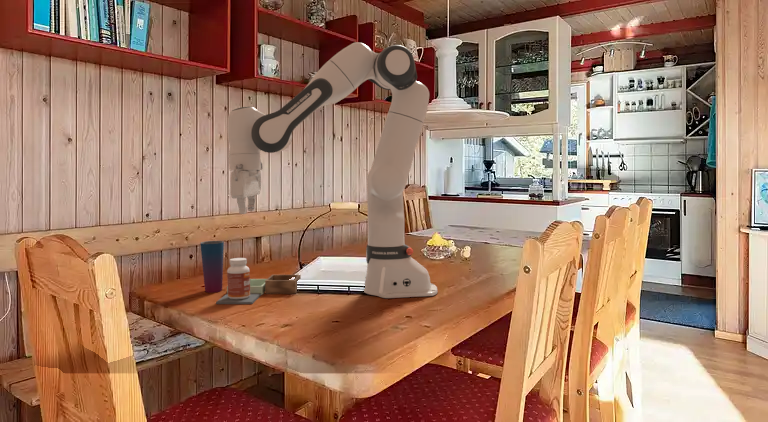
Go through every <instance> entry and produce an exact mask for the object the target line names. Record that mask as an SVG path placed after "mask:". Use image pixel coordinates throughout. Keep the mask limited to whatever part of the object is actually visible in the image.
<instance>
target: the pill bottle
mask: <svg viewBox="0 0 768 422" xmlns="http://www.w3.org/2000/svg"><path fill="white" fill-rule="evenodd" d="M247 263H248V262H247V258H246V257H235V258H230V259H229V265H230V266H229V267H228V268H227V271H226V274H227V275H226V276H227V286H228V297H229V298H230V299H234V300H237V299H245V298H248V297H250V279H251V278H250V277H251V276H250V275H251V273H250V272H251V271H250V268H249V266H247Z"/></svg>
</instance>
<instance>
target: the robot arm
mask: <svg viewBox="0 0 768 422" xmlns="http://www.w3.org/2000/svg"><path fill="white" fill-rule="evenodd" d="M417 79H418V73H417V68H416V62H415V57H414V56H413V54H412V52H411V51H410V50H409V49H408V48H407V47H405V46H403V45H400V44H393V45H388V46H387V47H385V48H383V50H381V52H379V53H378V52H374V51H373V50H372V49H371V48H370V47H369V46H368V45H366V44H365V43H363V42H357V41H355V42H353V43H351V44H349V45H347V46H346V47H344V48H342V49H341V50H340V51H338V52H336V54H334V55H333V56H332V57H331V58H330V59H329V60H328V61H326V62H325V63H324V64H323V65H322V66H321V67H320V68H319V70H318V71H317V72H316V73H315V74H314V76H313V77H312V78H311V80H310V81H309V82H308V83H307V84H306V86H305V87H304V88H303V90H301V91H300V92H298V93H297V94H296V95H295V96H294V97H293V98H292V99H291V100H289V101H288V102H287V103H286V104H284V106H282V107H281V108H279V109H278V110H277V111H274V112H271V113H268V114H265V113H264V112H262V111H259V110H258V109H257V108H255V107H254V106H241V107H238V108H235V109H232V110H231V111H230V112H229V114H228V116H227V127H226V128H227V141H228V144H229V149H228V166H229V167H228V170H229V172H230V171H231V172H230V196H231V198H232V199H236V202H237V203H236V204H237V206H238V213H239V214H240V215H245V214H247V213H248V212H253V211H255V210H256V206H255V205H256V200H257V199H256V197H257V196H258V195H260V194H261V189H262V188H261V187H262V172H261V171H263V163H262V160H261V151H262V152H265V153H269V154H272V153H280V152H282V151H284V150H286V149H287V148H289V146H290V145H291V143H292V139H293V132H294V130H295V129H296V128H297V127H298V126H299V125H300V124H302V123H303V122H304V121H305V120H306V119H307V118H308V117H309V116H311V115H312V114H313V113H315V111H318V110H319V109H320V108H322V107H324V106H327V105H328V106H329V105H334V104H337V103H338V102H340V101H341V100H344V99H345V98H346V97H348V96H349V95H351V94H352V93H353V92H354V91H355V90H356V89H357V88H359V87H360V85H362V84H363V83H365V82H366V81H367V80H368V81H370V82H371V83H373V84H375V85H376V86H377V87H379V88H381V89H383V90H385V91H386V90H387V91H391V95H392V96H391V103H390V106H389V109H388V111H387V115H386V119H385V121H384V124H383V128H382V130H381V134H380V137H379V140H378V144H377V147H376V151H375V154H374V158H373V161H372V165H371V168H370V169H369V171H368V173H367V177H366V193H367V194H366V199H367V200H366V201H367V202H366V203H367V206H366V207H367V245H366V248H365V251H366V252H365V254H366V255H365V259H366V261H365V262H366V264H367V266H366V275H365V276H366V277H365V280H364V285H365V289H364V292H363V293H365V294H367V295H371V296H377V297H378V298H379V297H380V298H383V299H395V298H399V299H400V298H410V297H411V298H414V297H417V298H418V297H433V296H435V295H437V294H438V286H436V285H435V284H434V283H431V277H430V275H429V274H430V273H429V271H428V270H427V268H426V267H424V265H422V264H421V263H419V262H418V261H417V260H416V259H414V258H413V257H412V255H413V254H414V249H413V248H412V247H411V246H410V245H408V244H405V209H404V207H405V206H404V193H403V192H404V190H406V189H405V188H406V186H407V182H408V179H409V175H410V171H411V167H412V163H413V161H414V156H415V152H416V148H417V144H418V143H419V139H420V136H421V133H422V130H423V127H424V123H425V121H426V117H427V112H428V108H429V101H430V100H429V99H430V91H429V89H428V86H426V85H425V84H423V83H422V82H420V81H417ZM246 198H247V199H246ZM246 200H248V201H247V204H246Z"/></svg>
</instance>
